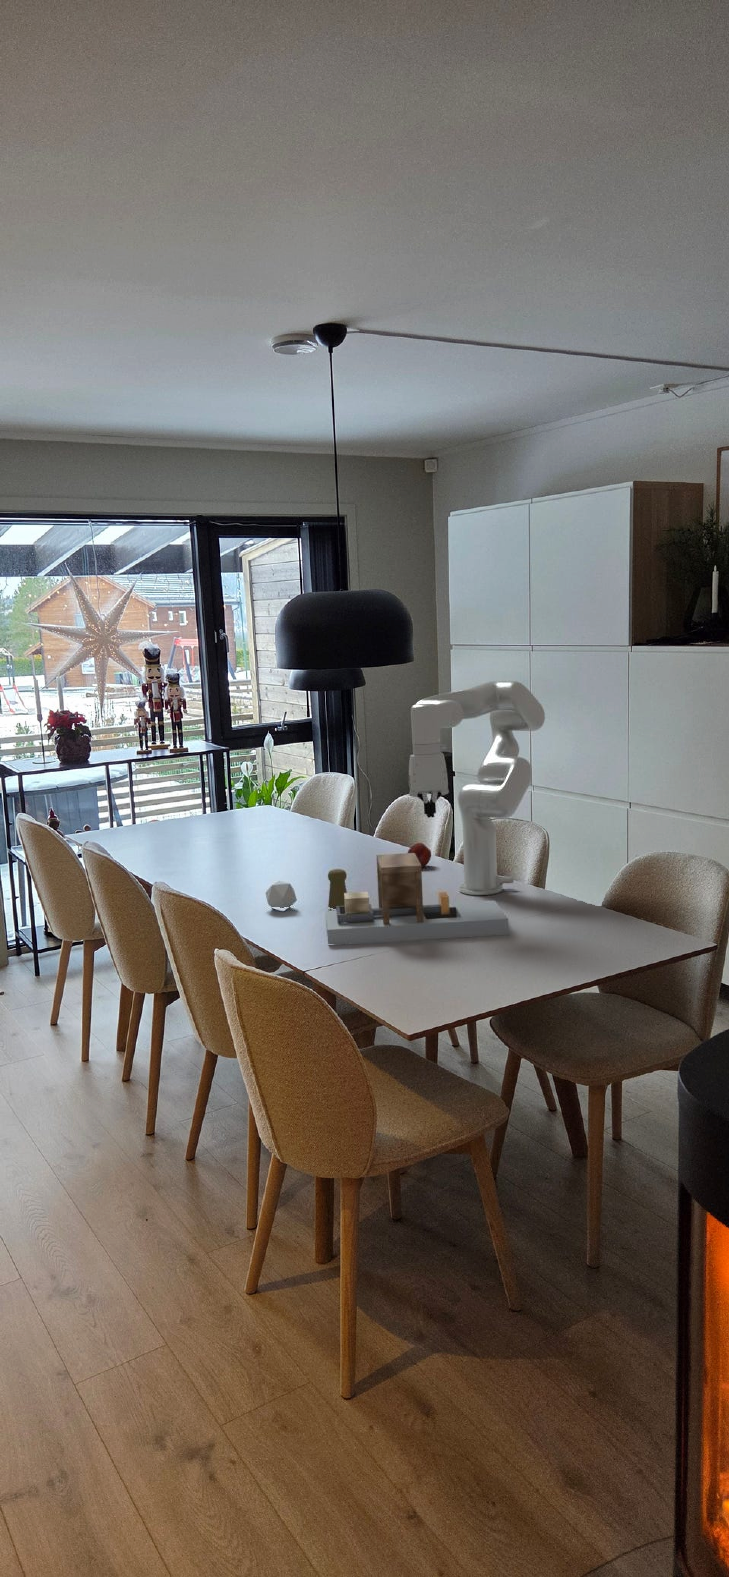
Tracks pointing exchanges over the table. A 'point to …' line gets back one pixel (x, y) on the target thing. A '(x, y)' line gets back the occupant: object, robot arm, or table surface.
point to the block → (356, 902)
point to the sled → (393, 910)
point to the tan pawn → (337, 888)
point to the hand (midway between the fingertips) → (430, 816)
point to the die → (281, 895)
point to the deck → (422, 925)
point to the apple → (421, 853)
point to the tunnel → (399, 883)
